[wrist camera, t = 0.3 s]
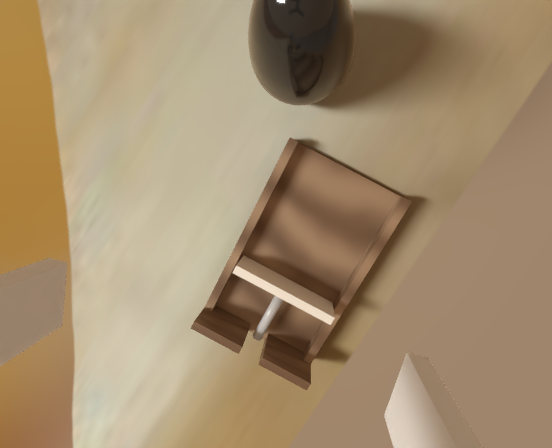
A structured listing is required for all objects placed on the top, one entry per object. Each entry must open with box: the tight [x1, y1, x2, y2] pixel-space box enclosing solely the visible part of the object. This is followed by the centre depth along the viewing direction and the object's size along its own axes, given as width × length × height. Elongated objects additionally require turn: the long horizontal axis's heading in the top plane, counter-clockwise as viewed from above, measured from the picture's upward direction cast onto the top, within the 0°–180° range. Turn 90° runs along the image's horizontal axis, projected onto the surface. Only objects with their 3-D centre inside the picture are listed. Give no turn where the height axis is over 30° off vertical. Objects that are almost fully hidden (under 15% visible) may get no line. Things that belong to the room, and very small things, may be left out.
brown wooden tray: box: [191, 138, 412, 390], centre depth 35 cm, size 24×15×6 cm, turn 153°
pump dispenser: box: [248, 0, 356, 105], centre depth 26 cm, size 10×10×15 cm
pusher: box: [233, 256, 335, 340], centre depth 36 cm, size 8×12×4 cm, turn 63°
